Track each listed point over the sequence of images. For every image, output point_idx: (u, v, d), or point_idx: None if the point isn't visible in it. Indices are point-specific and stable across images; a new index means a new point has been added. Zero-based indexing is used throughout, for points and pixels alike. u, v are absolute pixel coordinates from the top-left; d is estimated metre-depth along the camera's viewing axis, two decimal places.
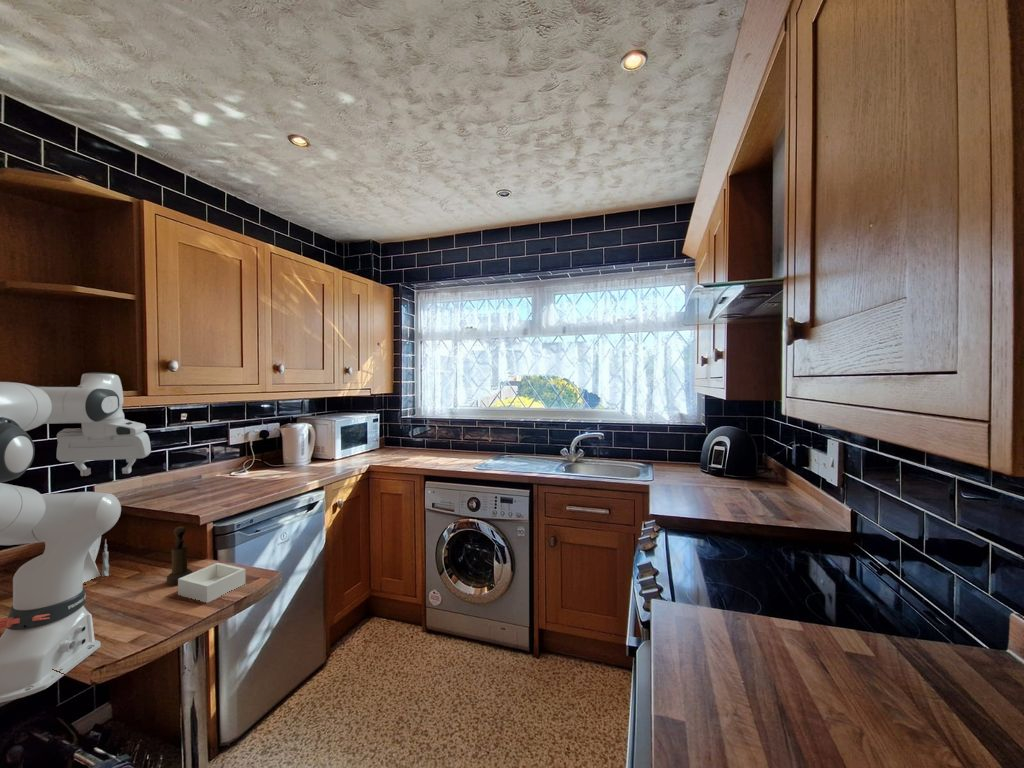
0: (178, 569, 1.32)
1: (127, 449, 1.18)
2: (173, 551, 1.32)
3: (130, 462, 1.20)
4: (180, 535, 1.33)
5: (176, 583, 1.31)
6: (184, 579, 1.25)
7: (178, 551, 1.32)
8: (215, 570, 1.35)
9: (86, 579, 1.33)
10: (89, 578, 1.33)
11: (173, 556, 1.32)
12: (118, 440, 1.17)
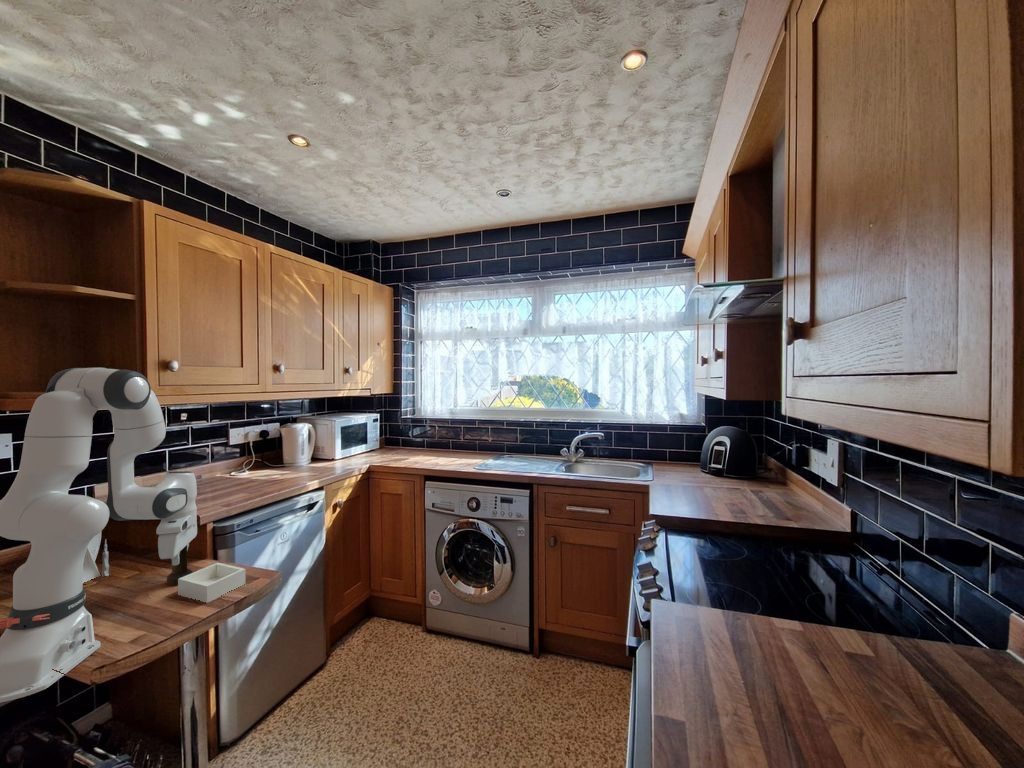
0: (178, 569, 1.32)
1: None
2: None
3: None
4: None
5: (176, 583, 1.31)
6: (184, 579, 1.25)
7: None
8: (215, 570, 1.35)
9: (86, 579, 1.33)
10: (89, 578, 1.33)
11: None
12: None
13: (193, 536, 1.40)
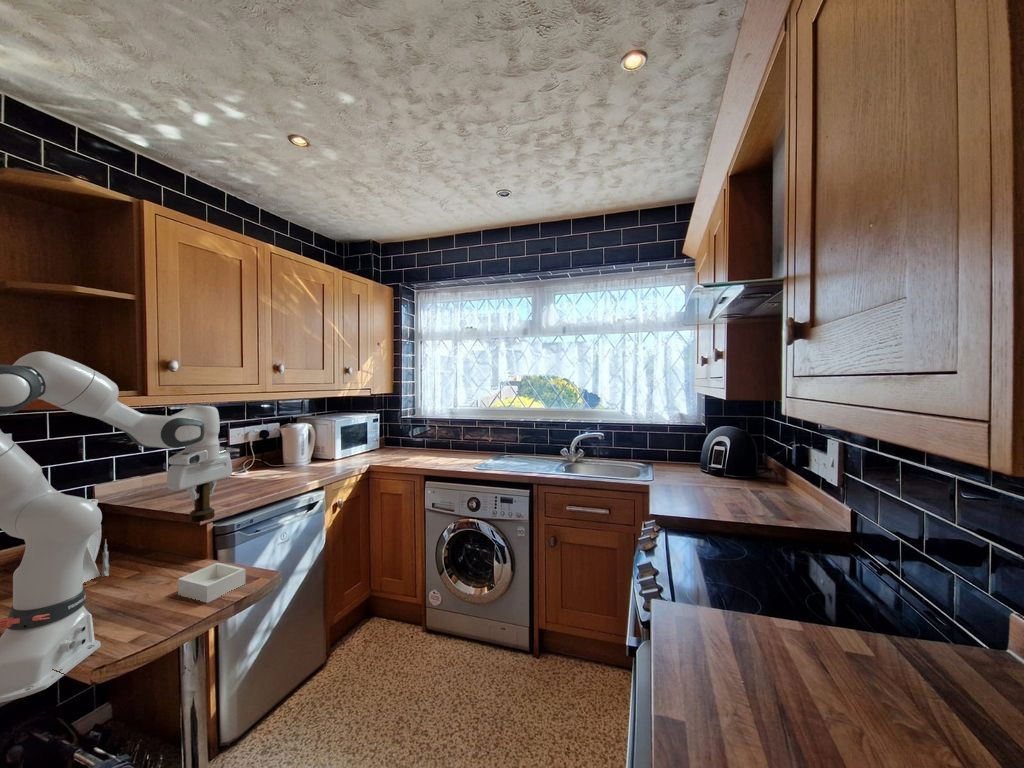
0: (198, 506, 1.28)
1: None
2: None
3: None
4: None
5: (193, 520, 1.27)
6: (184, 579, 1.25)
7: (197, 487, 1.28)
8: (215, 570, 1.35)
9: (86, 579, 1.33)
10: (89, 578, 1.33)
11: None
12: None
13: (223, 475, 1.36)
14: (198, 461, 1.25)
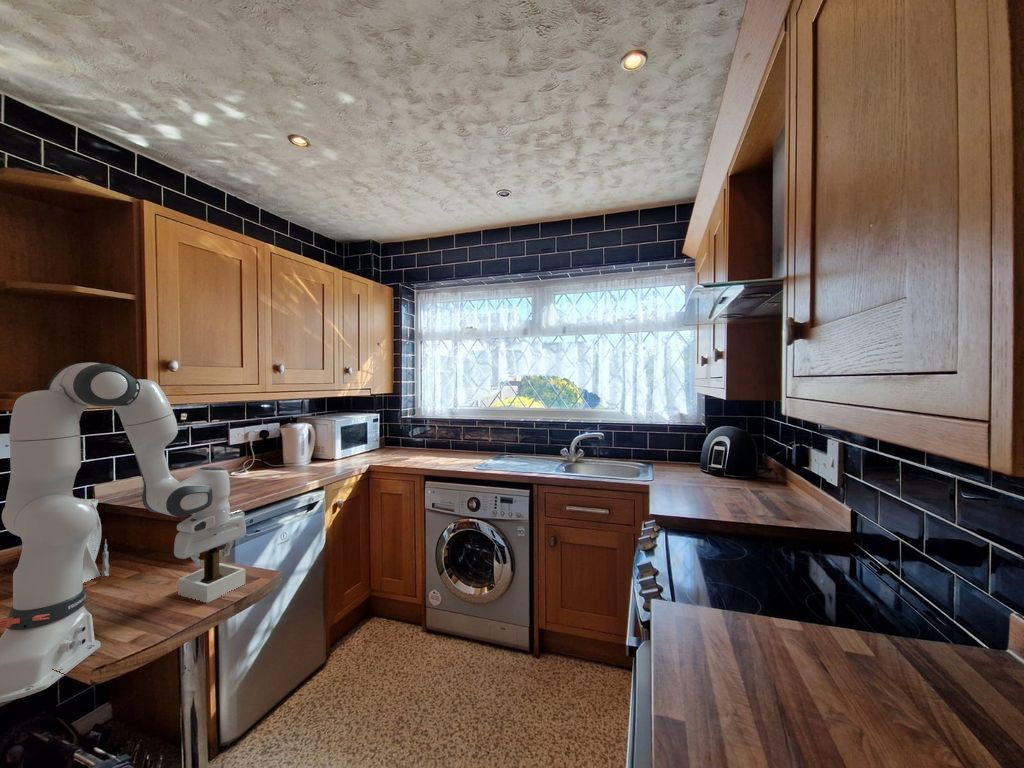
0: (206, 575, 1.27)
1: None
2: (204, 554, 1.27)
3: None
4: None
5: None
6: (184, 579, 1.25)
7: (206, 556, 1.27)
8: None
9: (86, 579, 1.33)
10: (89, 578, 1.33)
11: (204, 560, 1.27)
12: None
13: (235, 536, 1.34)
14: (204, 528, 1.23)
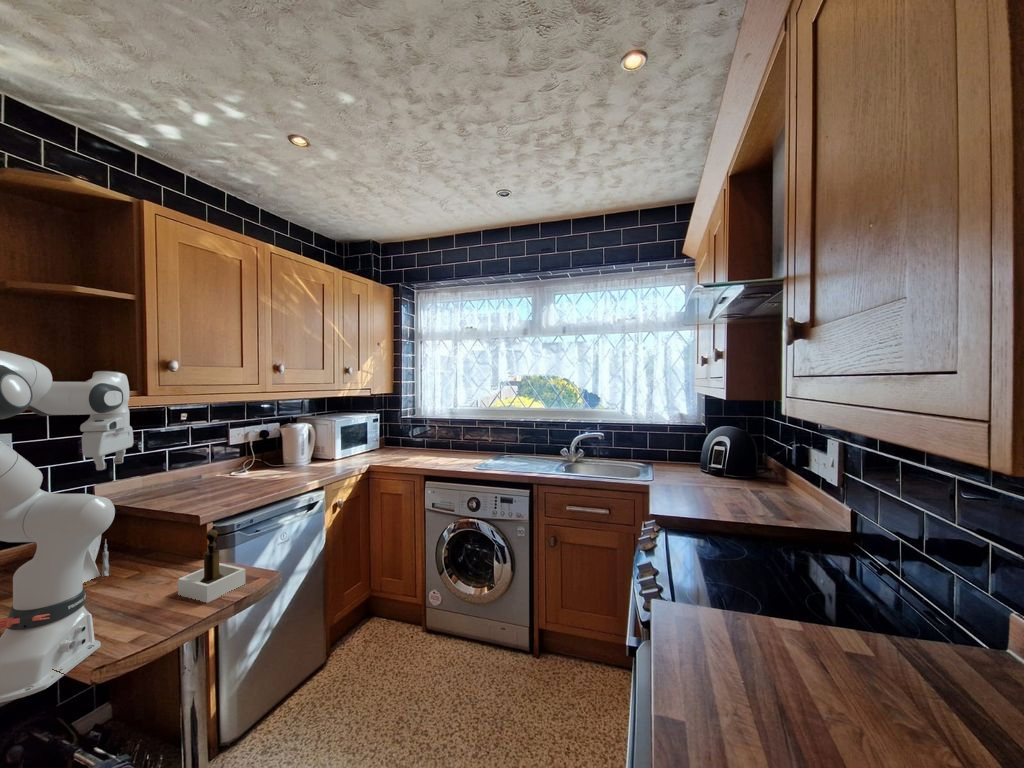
0: (206, 575, 1.27)
1: None
2: (204, 554, 1.27)
3: None
4: (209, 539, 1.27)
5: None
6: (184, 579, 1.25)
7: (206, 556, 1.27)
8: None
9: (86, 579, 1.33)
10: (89, 578, 1.33)
11: (204, 560, 1.27)
12: None
13: (128, 445, 1.34)
14: (115, 428, 1.24)
